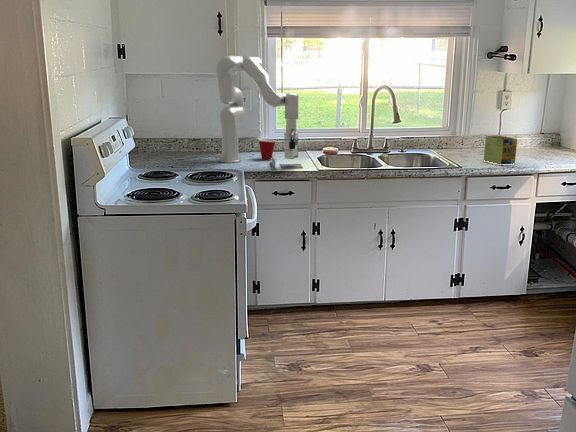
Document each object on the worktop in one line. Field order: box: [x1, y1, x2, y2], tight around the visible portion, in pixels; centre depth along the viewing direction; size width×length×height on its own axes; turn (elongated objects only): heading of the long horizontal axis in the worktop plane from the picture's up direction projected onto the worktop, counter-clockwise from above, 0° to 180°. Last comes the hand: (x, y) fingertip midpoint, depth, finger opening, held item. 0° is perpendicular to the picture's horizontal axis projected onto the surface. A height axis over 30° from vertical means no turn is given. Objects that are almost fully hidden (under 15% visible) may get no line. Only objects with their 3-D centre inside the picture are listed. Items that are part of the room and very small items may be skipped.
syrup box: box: [283, 131, 299, 160], centre depth 335 cm, size 6×6×14 cm
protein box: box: [483, 135, 518, 164], centre depth 350 cm, size 10×15×16 cm
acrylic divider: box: [269, 154, 278, 171], centre depth 336 cm, size 3×20×5 cm, turn 5°
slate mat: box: [279, 163, 304, 169], centre depth 338 cm, size 12×12×1 cm
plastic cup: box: [258, 138, 277, 160], centre depth 359 cm, size 11×11×12 cm
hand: (291, 147), depth 335 cm, fingers closed on syrup box, 7 cm apart
